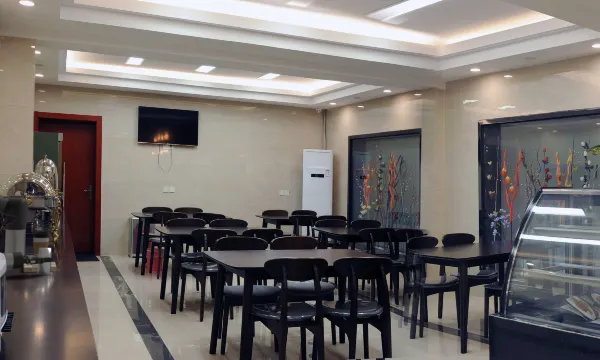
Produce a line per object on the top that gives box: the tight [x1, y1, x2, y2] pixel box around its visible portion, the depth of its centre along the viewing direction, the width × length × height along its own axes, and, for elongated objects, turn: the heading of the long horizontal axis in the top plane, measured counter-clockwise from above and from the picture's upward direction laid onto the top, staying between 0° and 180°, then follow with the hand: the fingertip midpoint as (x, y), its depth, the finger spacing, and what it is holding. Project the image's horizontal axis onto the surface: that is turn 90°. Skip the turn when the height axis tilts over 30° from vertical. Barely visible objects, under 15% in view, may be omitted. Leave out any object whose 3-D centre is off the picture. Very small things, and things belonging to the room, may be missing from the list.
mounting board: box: [23, 261, 57, 273], centre depth 279 cm, size 18×14×2 cm
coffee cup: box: [32, 231, 50, 256], centre depth 309 cm, size 8×8×15 cm
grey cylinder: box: [37, 247, 53, 276], centre depth 263 cm, size 6×5×12 cm
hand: (50, 258), depth 265 cm, fingers closed on grey cylinder, 5 cm apart
